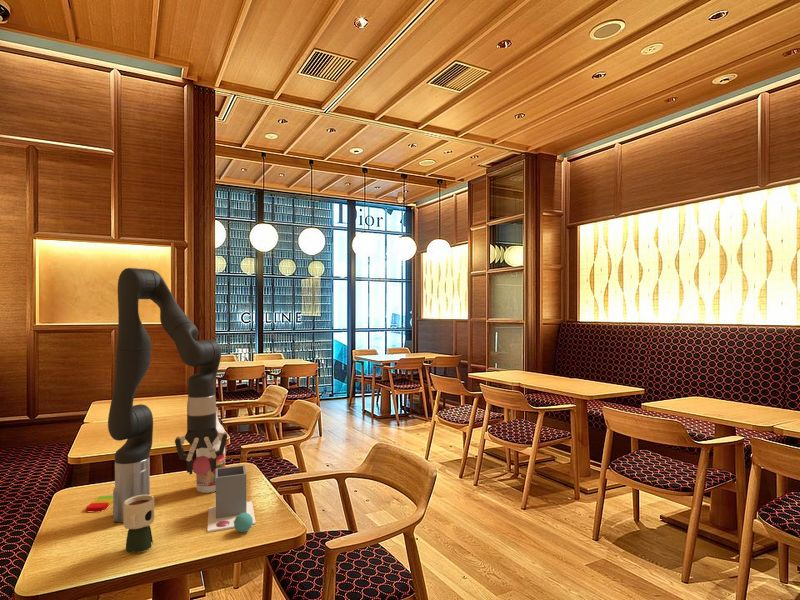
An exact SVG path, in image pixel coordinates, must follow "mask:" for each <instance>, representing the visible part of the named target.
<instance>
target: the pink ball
mask: <svg viewBox="0 0 800 600" xmlns="http://www.w3.org/2000/svg"><path fill="white" fill-rule="evenodd" d="M210 468H211V461H210V459H209V458H208V457H206V456H200V457H197V458H195V459H194V460H193V463H192V470H193V472H192V473H194V474H195V475H196V474H198V475H203V474H206V473H207V472H208V471H209V470H210Z"/></svg>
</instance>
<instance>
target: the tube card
mask: <svg viewBox="0 0 800 600" xmlns="http://www.w3.org/2000/svg"><path fill="white" fill-rule="evenodd" d="M207 511H208V512H207V513H208V514H207V515H208V516H207V533H211V532H212V533H213V532H218V531H224V530H231V529H235V526H234V521H235V518H236V517H237V516H238V515H239V514H241V513H248V514H250V515H251V517H252V519H253V523H252V526H254V525H256V524H257V523H256V518H255V516H256V515H255V512H254V511H255V510H254V506H253V501H252V500H250V501H247V470H246V465H245V464H242V465H234V466H227V467H226V466H225V468H217V469H216V492H215V506H211V507H208V509H207Z"/></svg>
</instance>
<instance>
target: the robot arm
mask: <svg viewBox="0 0 800 600" xmlns="http://www.w3.org/2000/svg"><path fill="white" fill-rule="evenodd" d="M140 300H150V301H152V302H153V303H154V304H155V305H156V306H158V308H159V311H160V312H159V317H160V318H159V319H160V320H159V321H160V325H161V326H162V328H163V330H164V331H165V333H166V334H167V335H168V336H169V337H170V338H171V339H172V340H173V342H174V344H175V347H176V349H177V352H178V355H179V358H180V360H182V362H183V363H184V364H186V365H187V366H189V367H193V368H194V367H195V368H196V367H199V369H198V371H197V372H196V373H194V374H192V375H190V376H189V377H188V380H187V404H186V433H185V435H183V436H176V437H175V439H174V443H175V448H176V451H177V455H178V458H179V460H180V461H182V460H183V461H186V473H189V474H188V475H193V473H194V472H193V470H192V463H193V461H194V460H193V456H194V454H195V451H196V450H197V449H200V448H208V450H209V452H210V454H211V456H212V457H211V472H214V469H216V458H217V457H218V456H221V455H223V452H224V448H225V449H226V444H227V440H228V439H227V438H228V433H227V432H226V431H225V432H224V433H218V431H217V430H216V407H217V401H216V400H217V399H216V378H217V374H218V371H219V368H220V362H221V359H222V349H221V346H220V345H219V343H218V341H216V340H214V339H203V340H202V339H201V340H197V339H198V336H199V334H200V333H199V329H198V328H197V326H196V325H195V324H194V323H193V321H192V320H191V319H190V318H189V317H188V316H187V314H186V313H185V312H184V311H183V309H181V307H180V305H179V304H178V302H177V300H176V298H175V297H174V295H173V294H172V291H171V290H170V288H169V287H168V285H167V283H166V281H165V280H164V277H162V275H161V274H160V273H159V272H158V271H156V270H154V269H148V268H136V267H135V268H134V267H127V268H124V269H123V270H122V271H121V272H120V273H119V276H118V280H117V307H118V308H117V309H118V317H117V318H118V322H117V323H118V325H117V339H116V340H117V341H116V347H115V348H116V350H115V367H114V370H115V371H114V379H113V380H114V381H113V389H112V396H111V401H110V407H109V412H108V417H107V418H108V419H107V430H108V433H109V436H110V437H111V438H112V439H113V440H115V441H118V442H119V441H121V442H122V441H125V440H126V441H125V443H124V444H123V445H122V446H121V447H119V448H118V449H117V450H116V452H115V454H114V487H113V490H112V493H113V503H112V506H113V510H112V511H113V512H112V513H113V514H112V515H113V516H112V519H113V520H112V522H113V523H124V512H123V505H124V501H126V500H127V499H129V498H131V497H134V496H139V495H151V491H150V488H151V485H150V484H151V482H150V479H151V477H150V474H151V472H150V471H151V470H150V466H151V465H150V464H151V463H150V462H151V461H150V452H151V450H152V446H153V436H154V435H153V433H154V432H153V431H154V417H153V413H152V411H151V408H149V407H148V406H147V405H146V404H142V403H141V404H140V403H139V404H136V405H134V399H135V395H136V391H137V389H138V388H139V385H140V384H141V382H142V380H143V379H144V378H145V376H146V374H147V372H148V370H149V368H150V365H151V361H152V360H151V359H152V358H151V357H152V340H151V337H150V336H149V333H148V331H147V330H146V328H145V326H144V324H143V323H142V321H141V319H140V312H139V301H140ZM216 437H219V440H220V441H221V444H220V448H219V450H218V451H215V448H214V445H213V442H214V440H215V439H216ZM185 441H187V443H188V444H189V445H190V448H189V451H188V453H185V449H184V447H183V445H184V443H185Z"/></svg>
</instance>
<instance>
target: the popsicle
mask: <svg viewBox="0 0 800 600" xmlns="http://www.w3.org/2000/svg"><path fill="white" fill-rule="evenodd" d="M109 505H110V506H111V505H113V492H111V494H109V495H102V496H98V497H97V498H96V499H94V501H92V502H91V503H90V504H88V505H87V506H86V507H85V512H86V511H100V512H103V511H102V510H104V511H105V510H107V507H108V506H109ZM110 506H109V507H110ZM109 507H108V508H109Z"/></svg>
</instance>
